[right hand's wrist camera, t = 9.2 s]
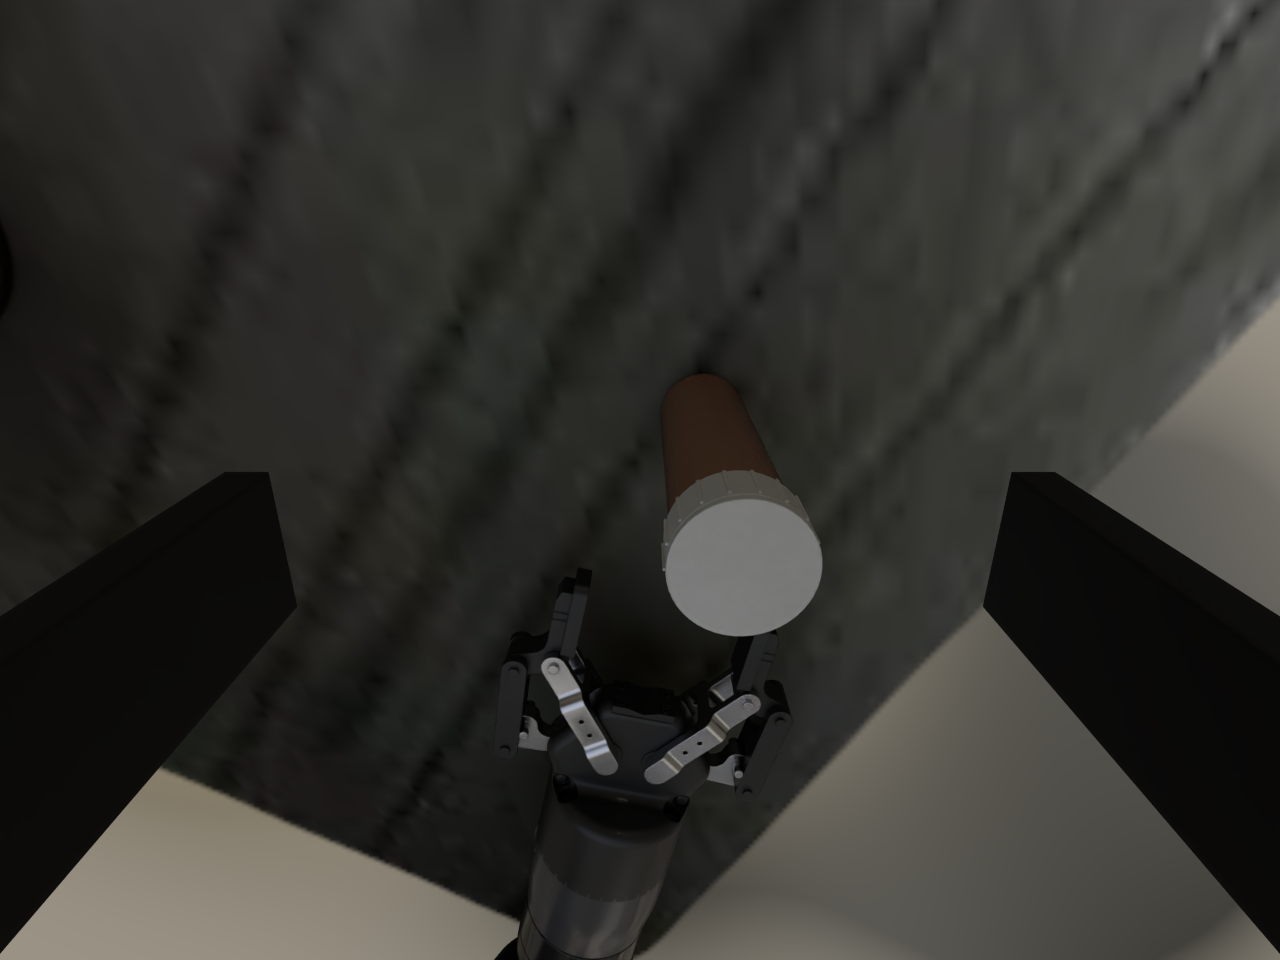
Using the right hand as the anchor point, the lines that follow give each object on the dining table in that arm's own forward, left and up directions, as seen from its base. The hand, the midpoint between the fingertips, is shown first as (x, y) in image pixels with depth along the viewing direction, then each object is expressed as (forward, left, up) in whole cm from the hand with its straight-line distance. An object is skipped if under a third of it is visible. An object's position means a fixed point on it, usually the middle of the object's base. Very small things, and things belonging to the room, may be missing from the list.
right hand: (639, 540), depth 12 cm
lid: (-3, +4, -7) cm, 9 cm away
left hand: (-2, +11, -17) cm, 20 cm away
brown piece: (-3, +4, -23) cm, 24 cm away
